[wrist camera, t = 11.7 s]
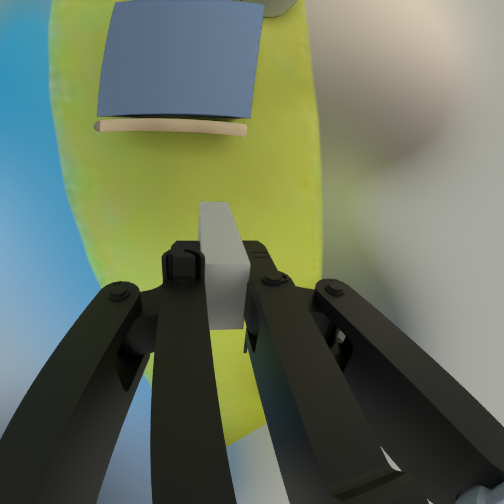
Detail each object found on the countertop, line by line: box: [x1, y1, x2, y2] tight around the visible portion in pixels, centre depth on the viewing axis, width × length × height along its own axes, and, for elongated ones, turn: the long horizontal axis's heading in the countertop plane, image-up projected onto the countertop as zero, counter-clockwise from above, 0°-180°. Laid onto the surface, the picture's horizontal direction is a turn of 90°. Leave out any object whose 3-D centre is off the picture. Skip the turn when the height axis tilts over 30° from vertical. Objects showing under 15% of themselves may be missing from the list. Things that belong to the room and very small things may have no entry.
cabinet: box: [97, 0, 265, 119], centre depth 24 cm, size 12×14×13 cm
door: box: [94, 118, 248, 137], centre depth 27 cm, size 1×15×11 cm, turn 83°
